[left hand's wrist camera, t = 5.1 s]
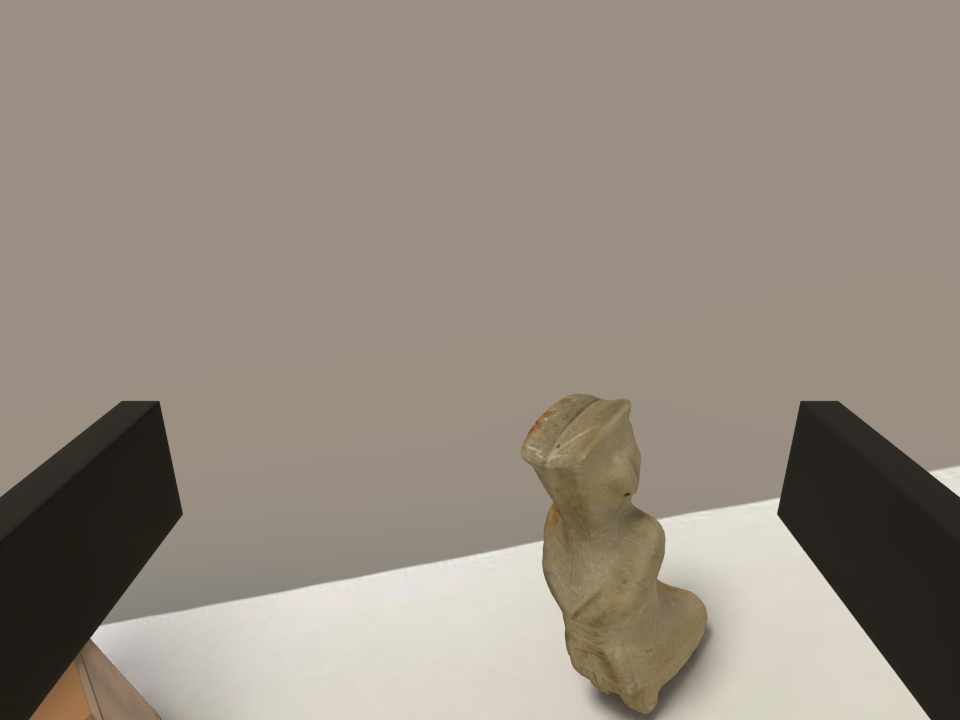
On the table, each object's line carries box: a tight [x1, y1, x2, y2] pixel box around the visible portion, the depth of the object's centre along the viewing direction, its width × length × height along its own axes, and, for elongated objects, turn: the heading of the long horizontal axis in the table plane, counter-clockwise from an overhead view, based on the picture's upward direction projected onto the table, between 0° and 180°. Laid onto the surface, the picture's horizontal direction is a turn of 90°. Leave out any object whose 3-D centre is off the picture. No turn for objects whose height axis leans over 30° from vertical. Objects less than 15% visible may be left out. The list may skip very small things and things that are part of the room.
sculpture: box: [521, 394, 707, 714], centre depth 29 cm, size 6×7×15 cm
